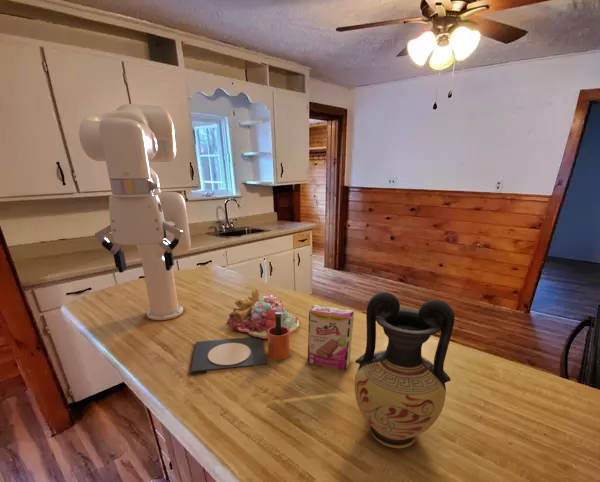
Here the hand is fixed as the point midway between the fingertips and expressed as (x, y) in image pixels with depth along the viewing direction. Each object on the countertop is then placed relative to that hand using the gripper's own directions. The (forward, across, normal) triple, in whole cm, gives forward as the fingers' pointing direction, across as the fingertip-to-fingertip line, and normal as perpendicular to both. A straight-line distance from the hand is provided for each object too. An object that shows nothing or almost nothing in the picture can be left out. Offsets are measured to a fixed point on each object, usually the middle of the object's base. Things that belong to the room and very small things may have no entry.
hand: (146, 269), depth 74 cm
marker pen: (+29, -30, -8) cm, 42 cm away
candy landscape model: (+29, -27, -29) cm, 50 cm away
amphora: (+30, -50, +26) cm, 64 cm away
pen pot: (+30, -30, -8) cm, 43 cm away
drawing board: (+29, -16, -10) cm, 35 cm away
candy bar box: (+30, -43, -1) cm, 52 cm away
